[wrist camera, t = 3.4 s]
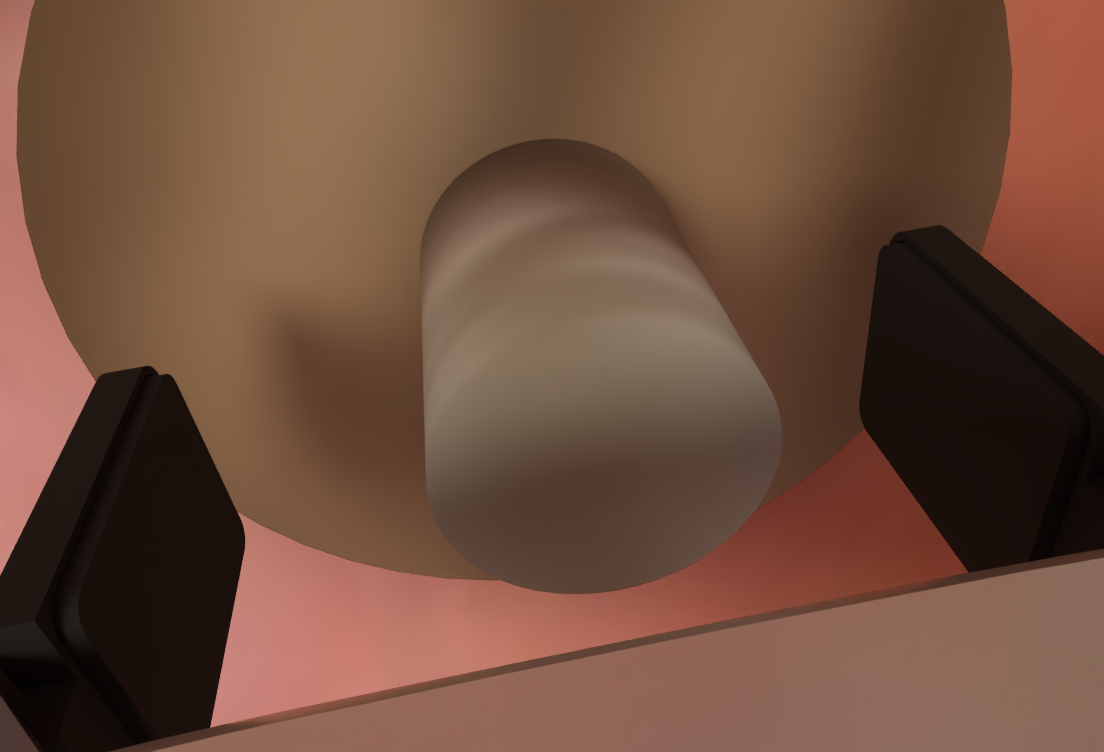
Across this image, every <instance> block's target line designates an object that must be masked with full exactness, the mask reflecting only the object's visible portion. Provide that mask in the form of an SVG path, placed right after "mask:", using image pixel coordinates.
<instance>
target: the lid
mask: <svg viewBox="0 0 1104 752" xmlns="http://www.w3.org/2000/svg"><path fill="white" fill-rule="evenodd" d="M1011 84H1012V67H1011V58H1010V48H1009V39H1008V30H1007V20H1006V11H1005V5H1004V2H1003V0H35V3H34V6H33V8H32V11H31V16H30V21H29V27H28V32H27V38H26V43H25V49H24V54H23V60H22V65H21V71H20V76H19V82H18V108H17V162H18V170H19V177H20V185H21V192H22V199H23V207H24V214H25V222H26V225H27V228H28V232H29V235H30V239H31V242H32V246H33V249H34V253H35V256H36V259H37V263H38V266H39V270H40V273H41V277H42V280H43V283H44V285H45V288H46V290H47V292H48V294H49V296H50V299H51V301H52V303H53V305H54V307H55V310H56V312H57V314H58V316H59V318H60V321H61V323H62V325H63V327H64V329H65V332H66V334H67V336H68V338H69V340H70V341H71V343H72V345H73V346H74V348H75V349H76V351H77V353H78V354H79V356H80V357H81V359H82V360H83V362H84V364H85V365H86V367H87V368H88V370H89V372H90V373H91V375H92V376H93V378H94V380H95V381H97V379H98V378H99V377H100V375H101V374H104V373H109V372H114V371H120V370H126V369H131V368H137V367H142V366H151V367H153V368H154V369H155V370H156V371H157V372H158V374H159V375H162V374H169V375H171V376H172V377H173V378H174V380H175V381H176V383H177V385H178V387H179V389H180V391H181V394H182V396H183V398H184V400H185V402H186V404H187V406H188V408H189V411H190V413H191V415H192V417H193V419H194V421H195V423H196V425H197V428H198V430H199V432H200V434H201V436H202V438H203V440H204V442H205V445H206V447H207V449H208V451H209V453H210V455H211V457H212V459H213V461H214V464H215V466H216V468H217V470H218V472H219V474H220V476H221V478H222V481H223V483H224V485H225V487H226V489H227V491H228V493H229V495H230V498H231V500H232V502H233V504H234V506H235V508H236V510H237V511H238V512H239V513H241V514H243V515H244V516H246V517H248V518H249V519H251V520H253V521H255V522H256V523H258V524H260V525H262V526H264V527H266V528H268V529H270V530H273V531H275V532H277V533H279V534H281V535H284V536H286V537H288V538H290V539H292V540H295V541H297V542H299V543H301V544H304V545H306V546H309V547H312V548H315V549H318V550H321V551H324V552H326V553H329V554H332V555H335V556H338V557H341V558H344V559H347V560H350V561H354V562H358V563H362V564H367V565H371V566H375V567H380V568H384V569H388V570H393V571H397V572H403V573H410V574H418V575H425V576H433V577H440V578H451V579H474V580H502V581H505V582H508V583H510V584H513V585H516V586H519V587H524V588H528V589H532V590H536V591H543V592H551V593H563V594H588V593H601V592H608V591H616V590H621V589H625V588H630V587H634V586H638V585H642V584H645V583H648V582H651V581H654V580H657V579H660V578H662V577H665V576H667V575H670V574H672V573H675V572H677V571H679V570H681V569H683V568H685V567H687V566H689V565H691V564H693V563H695V562H696V561H698V560H699V559H701V558H703V557H704V556H706V555H707V554H709V553H710V552H712V551H713V550H715V549H716V548H717V547H719V546H720V545H721V544H722V543H724V542H725V541H726V540H728V539H729V538H730V537H731V536H732V535H733V534H734V533H735V532H736V531H737V530H738V529H739V528H740V527H741V526H742V525H743V524H744V523H745V522H746V521H747V520H748V518H749V517H750V516H751V515H752V514H753V513H754V511H755V510H757V509H759V508H760V507H762V506H763V505H765V504H766V503H768V502H770V501H771V500H773V499H774V498H776V497H777V496H779V495H781V494H782V493H784V492H785V491H787V490H788V489H790V488H792V487H793V486H795V485H796V484H798V483H799V482H801V481H802V480H803V479H804V478H806V477H807V476H808V475H810V474H811V473H812V472H814V471H815V470H816V469H817V468H819V467H820V466H821V465H823V464H824V463H825V462H826V461H828V460H829V459H830V458H832V457H833V456H834V455H835V454H837V453H838V452H839V451H840V450H841V449H842V448H843V447H844V446H845V445H846V444H848V443H849V442H850V441H851V440H852V439H853V438H854V437H855V436H856V435H857V434H858V433H859V432H860V431H861V430H862V429H864V426H863V423H862V420H861V417H860V411H859V401H860V393H861V385H862V377H863V370H864V362H865V354H866V346H867V338H868V331H869V323H870V315H871V307H872V299H873V292H874V284H875V276H876V268H877V261H878V255H879V252H880V250H881V248H882V247H883V246H885V245H890V241H891V239H892V237H893V236H894V235H895V234H896V233H897V232H902V231H907V230H913V229H919V228H924V227H930V226H936V225H942V226H944V227H946V228H948V229H949V230H950V231H951V232H953V233H954V234H955V235H956V236H957V237H959V238H960V239H961V240H962V241H964V242H965V243H966V244H967V245H968V246H970V247H971V248H972V249H973V250H975V251H976V252H977V253H978V254H979V255H980V252H981V250H982V248H983V245H984V243H985V239H986V236H987V233H988V229H989V226H990V223H991V219H992V216H993V212H994V209H995V206H996V202H997V199H998V196H999V192H1000V188H1001V182H1002V176H1003V170H1004V164H1005V158H1006V152H1007V146H1008V140H1009V134H1010V114H1011Z"/></svg>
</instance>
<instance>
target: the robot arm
mask: <svg viewBox="0 0 1104 752" xmlns="http://www.w3.org/2000/svg"><path fill="white" fill-rule="evenodd" d="M859 411H860V417H861V420H862V423H863V426H864V428H865V429H866V431H867V432H868V434H869V435H870V436H871V438H872V439H873V441H874V442H875V443H876V445H877V446H878V448H879V449H880V450H881V452H882V453H883V454H884V456H885V457H886V459H887V460H888V461H889V463H890V464H891V466H892V467H893V468H894V470H895V471H896V472H897V474H898V475H899V477H900V478H901V479H902V481H903V482H904V484H905V485H906V486H907V488H908V489H909V490H910V492H911V493H912V495H913V496H914V497H915V499H916V500H917V502H918V503H919V504H920V506H921V507H922V508H923V510H924V511H925V513H926V514H927V515H928V517H929V518H930V520H931V521H932V522H933V524H934V525H935V526H936V528H937V529H938V531H939V532H940V533H941V535H942V536H943V538H944V539H945V540H946V542H947V543H948V544H949V546H950V547H951V549H952V550H953V551H954V553H955V554H956V556H957V557H958V558H959V560H960V561H961V562H962V564H963V565H964V567H965V568H966V569H967V571H968V572H969V573H965V574H960V575H955V576H950V577H945V578H940V579H935V580H930V581H924V582H919V583H914V584H909V585H904V586H899V587H894V588H889V589H884V590H879V591H874V592H868V593H863V594H858V595H853V596H848V597H843V598H838V599H833V600H828V601H823V602H817V603H812V604H807V605H802V606H797V607H792V608H787V609H782V610H777V611H772V612H767V613H762V614H757V615H752V616H747V617H742V618H737V619H732V620H727V621H722V622H717V623H712V624H707V625H702V626H697V627H692V628H687V629H682V630H677V631H672V632H667V633H662V634H657V635H652V636H647V637H642V638H637V639H632V640H627V641H622V642H617V643H613V644H608V645H603V646H598V647H593V648H588V649H583V650H578V651H573V652H568V653H563V654H558V655H553V656H548V657H544V658H539V659H534V660H529V661H524V662H519V663H514V664H509V665H504V666H499V667H495V668H490V669H485V670H480V671H475V672H470V673H466V674H461V675H456V676H451V677H446V678H442V679H437V680H432V681H427V682H422V683H417V684H413V685H408V686H403V687H398V688H393V689H389V690H384V691H379V692H374V693H369V694H364V695H360V696H355V697H350V698H345V699H340V700H336V701H331V702H326V703H321V704H316V705H311V706H307V707H302V708H297V709H292V710H288V711H283V712H279V713H274V714H270V715H265V716H261V717H256V718H252V719H247V720H243V721H238V722H234V723H229V724H225V725H220V726H216V727H211V728H210V725H211V720H212V715H213V710H214V705H215V699H216V694H217V689H218V684H219V679H220V674H221V669H222V663H223V658H224V653H225V648H226V643H227V638H228V633H229V627H230V622H231V617H232V612H233V607H234V602H235V597H236V591H237V586H238V581H239V576H240V571H241V566H242V560H243V555H244V550H245V533H244V528H243V524H242V521H241V519H240V517H239V515H238V512H237V510H236V508H235V506H234V504H233V502H232V500H231V498H230V495H229V493H228V491H227V489H226V487H225V485H224V483H223V481H222V478H221V476H220V474H219V472H218V470H217V468H216V466H215V464H214V461H213V459H212V457H211V455H210V453H209V451H208V449H207V447H206V445H205V442H204V440H203V438H202V436H201V434H200V432H199V430H198V428H197V425H196V423H195V421H194V419H193V417H192V415H191V413H190V411H189V408H188V406H187V404H186V402H185V400H184V398H183V396H182V394H181V391H180V389H179V387H178V385H177V383H176V381H175V380H174V378H173V377H172V376H171V375H169V374H162V375H159V374H158V372H157V371H156V370H155V369H154V368H153V367H151V366H142V367H137V368H131V369H126V370H120V371H114V372H109V373H104V374H101V375H100V377H99V378H98V379H97V381H96V383H95V385H94V387H93V389H92V391H91V393H90V395H89V397H88V399H87V401H86V403H85V405H84V407H83V409H82V411H81V413H80V415H79V417H78V419H77V422H76V424H75V426H74V428H73V430H72V432H71V434H70V436H69V438H68V440H67V442H66V444H65V446H64V448H63V450H62V452H61V454H60V456H59V458H58V460H57V462H56V464H55V466H54V468H53V470H52V472H51V474H50V476H49V478H48V480H47V482H46V484H45V486H44V488H43V490H42V492H41V494H40V496H39V498H38V500H37V502H36V505H35V507H34V509H33V511H32V513H31V515H30V517H29V519H28V521H27V523H26V525H25V527H24V529H23V531H22V533H21V535H20V537H19V539H18V541H17V543H16V545H15V547H14V549H13V551H12V553H11V555H10V557H9V559H8V561H7V563H6V565H5V567H4V569H3V571H2V573H1V575H0V752H1104V356H1103V355H1102V354H1101V353H1100V352H1098V351H1097V350H1096V349H1095V348H1094V347H1092V346H1091V345H1090V344H1089V343H1087V342H1086V341H1085V340H1084V339H1082V338H1081V337H1080V336H1079V335H1078V334H1076V333H1075V332H1074V331H1073V330H1071V329H1070V328H1069V327H1068V326H1067V325H1065V324H1064V323H1063V322H1062V321H1060V320H1059V319H1058V318H1057V317H1056V316H1054V315H1053V314H1052V313H1051V312H1049V311H1048V310H1047V309H1046V308H1044V307H1043V306H1042V305H1041V304H1040V303H1038V302H1037V301H1036V300H1035V299H1033V298H1032V297H1031V296H1030V295H1029V294H1027V293H1026V292H1025V291H1024V290H1022V289H1021V288H1020V287H1019V286H1018V285H1016V284H1015V283H1014V282H1013V281H1011V280H1010V279H1009V278H1008V277H1006V276H1005V275H1004V274H1003V273H1002V272H1000V271H999V270H998V269H997V268H995V267H994V266H993V265H992V264H991V263H989V262H988V261H987V260H986V259H984V258H983V257H982V256H981V255H979V254H978V253H977V252H976V251H975V250H973V249H972V248H971V247H970V246H968V245H967V244H966V243H965V242H964V241H962V240H961V239H960V238H959V237H957V236H956V235H955V234H954V233H953V232H951V231H950V230H949V229H948V228H946V227H944V226H942V225H936V226H930V227H924V228H919V229H913V230H907V231H902V232H897V233H896V234H895V235H894V236H893V237H892V239H891V241H890V245H885V246H883V247H882V248H881V250H880V252H879V255H878V261H877V268H876V276H875V284H874V292H873V299H872V307H871V315H870V323H869V331H868V338H867V346H866V354H865V362H864V370H863V377H862V385H861V393H860V401H859Z"/></svg>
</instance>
